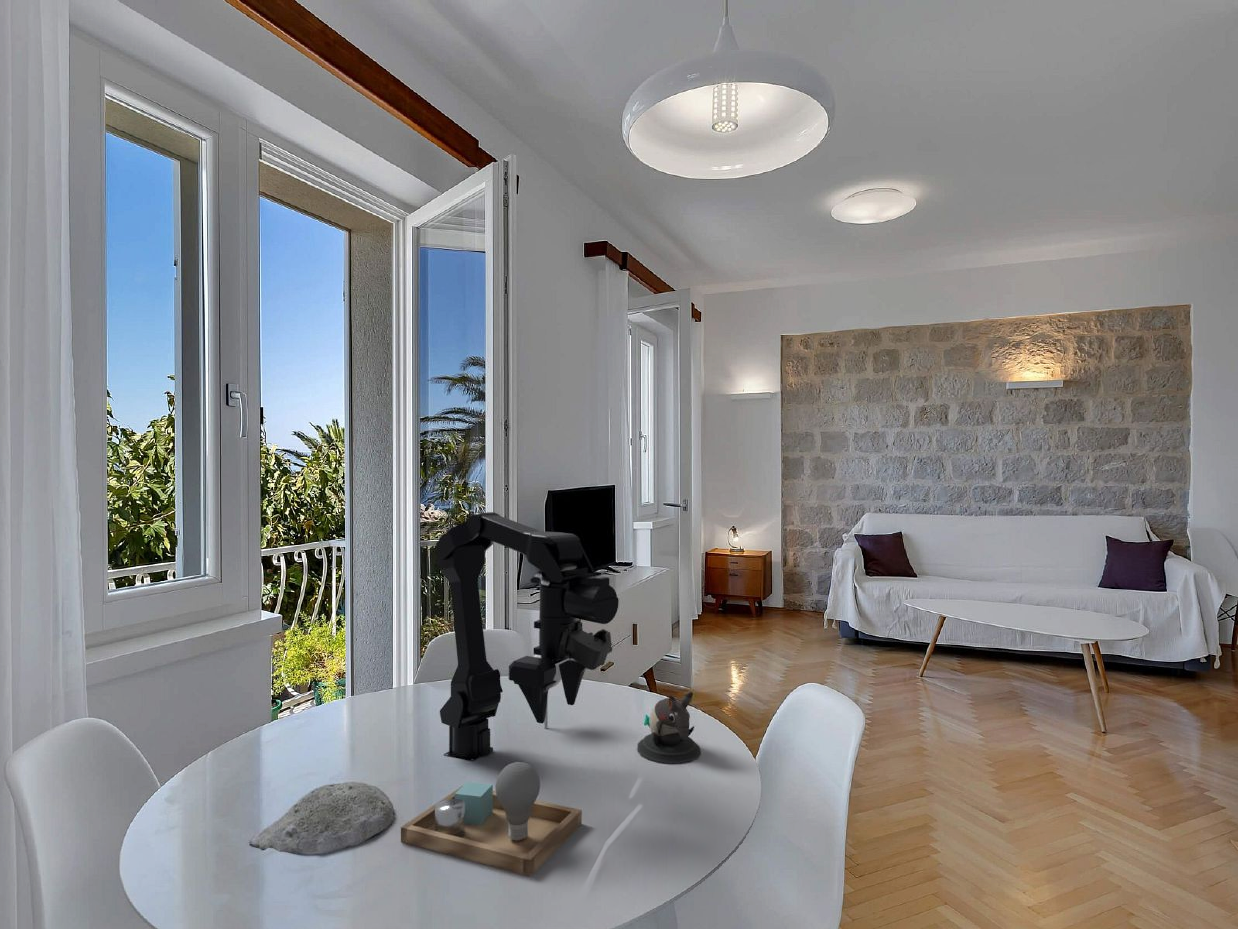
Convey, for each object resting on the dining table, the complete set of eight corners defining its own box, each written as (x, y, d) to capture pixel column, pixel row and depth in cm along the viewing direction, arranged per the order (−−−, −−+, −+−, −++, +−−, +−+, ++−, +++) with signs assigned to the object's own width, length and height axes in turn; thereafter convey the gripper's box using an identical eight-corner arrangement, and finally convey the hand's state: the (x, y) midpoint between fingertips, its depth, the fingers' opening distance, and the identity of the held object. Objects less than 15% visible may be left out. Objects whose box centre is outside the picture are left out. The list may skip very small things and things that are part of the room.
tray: (400, 846, 93) (400, 827, 93) (464, 801, 106) (464, 784, 106) (529, 881, 85) (529, 860, 85) (581, 828, 98) (581, 810, 98)
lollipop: (571, 726, 138) (571, 650, 138) (548, 737, 132) (549, 658, 132) (543, 719, 142) (543, 645, 142) (520, 730, 136) (520, 653, 136)
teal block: (454, 822, 98) (454, 793, 98) (467, 809, 102) (467, 781, 102) (480, 825, 97) (480, 796, 97) (492, 812, 101) (492, 784, 101)
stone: (350, 769, 110) (416, 765, 103) (356, 821, 108) (422, 820, 101) (240, 809, 95) (308, 807, 88) (245, 870, 93) (314, 873, 86)
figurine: (679, 734, 133) (679, 673, 133) (713, 759, 123) (714, 693, 122) (626, 744, 128) (626, 681, 128) (657, 771, 118) (658, 702, 118)
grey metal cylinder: (428, 839, 94) (428, 809, 94) (447, 825, 97) (447, 796, 97) (452, 845, 92) (452, 815, 92) (470, 831, 96) (471, 802, 96)
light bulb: (532, 852, 90) (531, 774, 90) (488, 848, 91) (488, 771, 92) (546, 829, 96) (545, 756, 96) (505, 826, 97) (504, 753, 98)
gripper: (572, 632, 98) (571, 743, 98) (628, 609, 114) (627, 704, 114) (507, 623, 103) (505, 729, 102) (570, 602, 119) (568, 693, 119)
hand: (556, 713), depth 109 cm, fingers open, 9 cm apart
